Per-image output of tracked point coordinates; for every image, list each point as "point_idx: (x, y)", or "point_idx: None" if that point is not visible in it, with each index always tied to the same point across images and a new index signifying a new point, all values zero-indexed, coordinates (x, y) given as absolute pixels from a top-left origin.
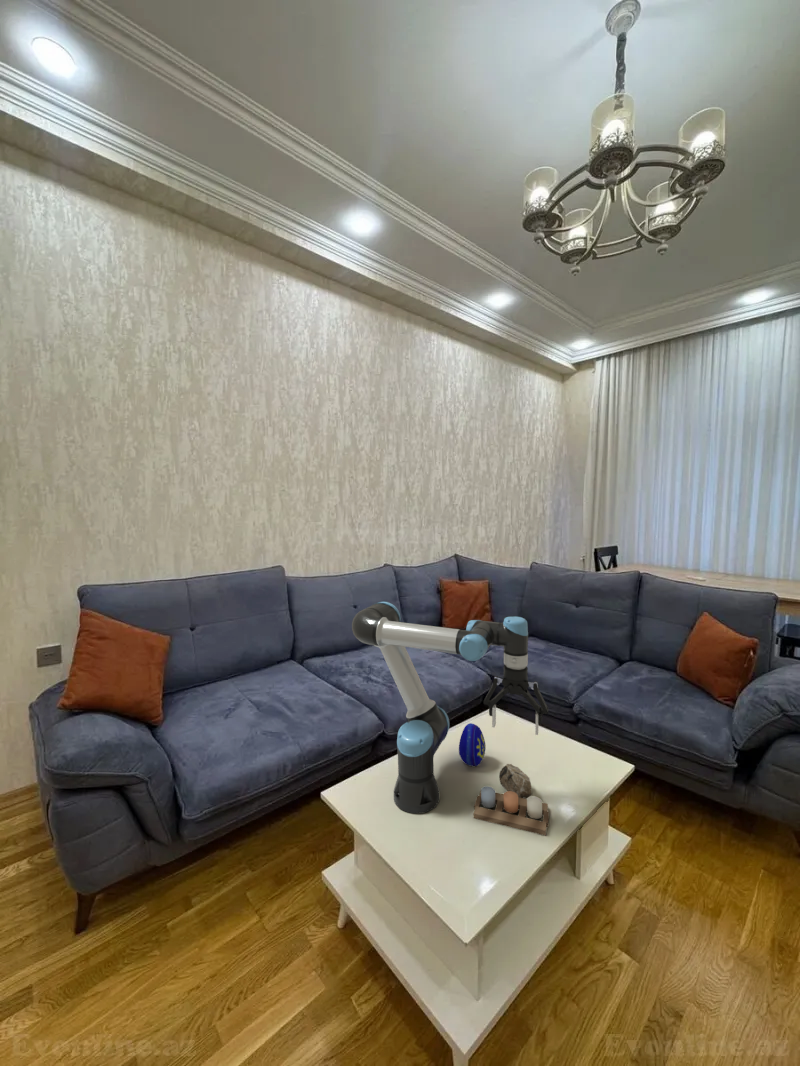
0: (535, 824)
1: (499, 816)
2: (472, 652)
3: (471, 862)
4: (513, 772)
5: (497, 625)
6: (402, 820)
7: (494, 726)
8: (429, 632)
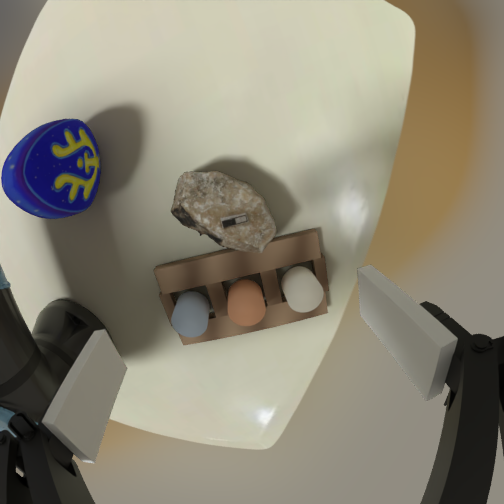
0: None
1: (232, 327)
2: None
3: (232, 404)
4: (220, 232)
5: None
6: None
7: (125, 372)
8: None
